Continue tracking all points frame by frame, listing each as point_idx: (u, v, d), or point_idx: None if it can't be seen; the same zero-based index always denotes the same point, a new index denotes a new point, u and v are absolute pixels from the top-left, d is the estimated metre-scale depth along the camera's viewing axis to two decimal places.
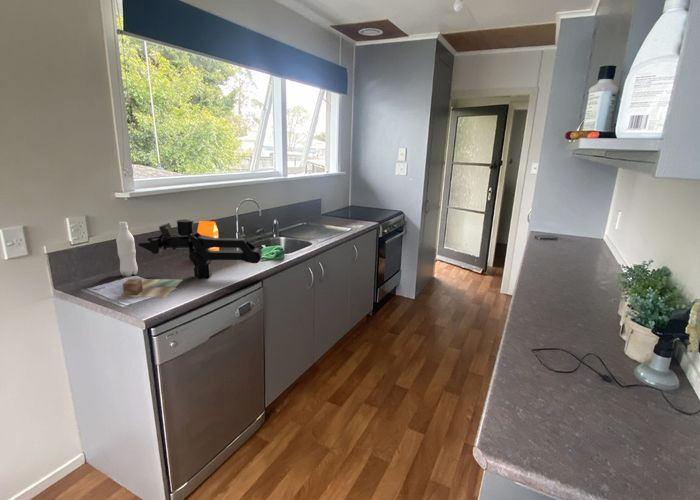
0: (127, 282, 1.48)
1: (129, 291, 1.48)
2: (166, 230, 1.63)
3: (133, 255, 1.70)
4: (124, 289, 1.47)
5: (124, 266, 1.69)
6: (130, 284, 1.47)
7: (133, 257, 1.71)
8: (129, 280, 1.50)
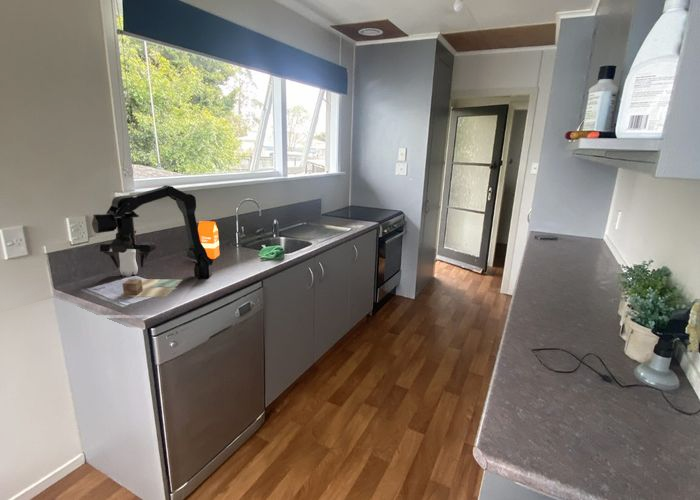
0: (127, 282, 1.48)
1: (129, 291, 1.48)
2: (130, 241, 1.39)
3: (133, 255, 1.70)
4: (124, 289, 1.47)
5: (124, 266, 1.69)
6: (130, 284, 1.47)
7: (133, 257, 1.71)
8: (129, 280, 1.50)
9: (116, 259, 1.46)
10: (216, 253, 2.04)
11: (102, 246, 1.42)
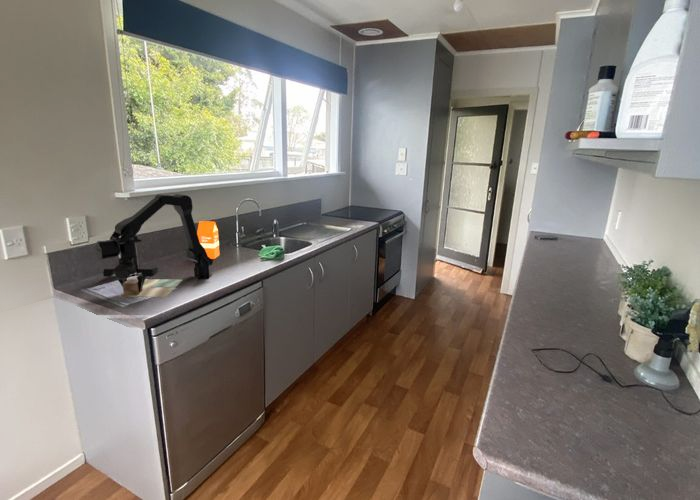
0: (127, 282, 1.48)
1: (129, 291, 1.48)
2: (133, 267, 1.41)
3: None
4: (124, 289, 1.47)
5: None
6: (130, 284, 1.47)
7: None
8: (129, 280, 1.50)
9: None
10: (216, 253, 2.04)
11: (105, 271, 1.44)
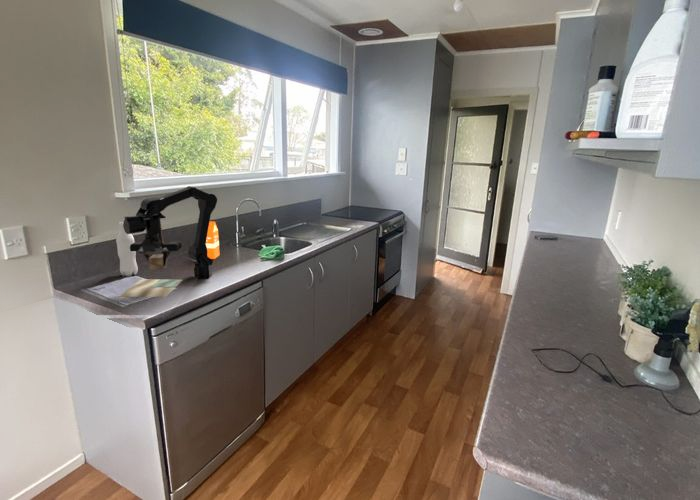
0: (153, 257, 1.55)
1: (155, 265, 1.54)
2: (159, 241, 1.48)
3: (133, 255, 1.70)
4: (150, 263, 1.54)
5: (124, 266, 1.69)
6: (156, 258, 1.54)
7: (133, 257, 1.71)
8: (154, 255, 1.57)
9: None
10: (216, 253, 2.04)
11: (132, 246, 1.51)
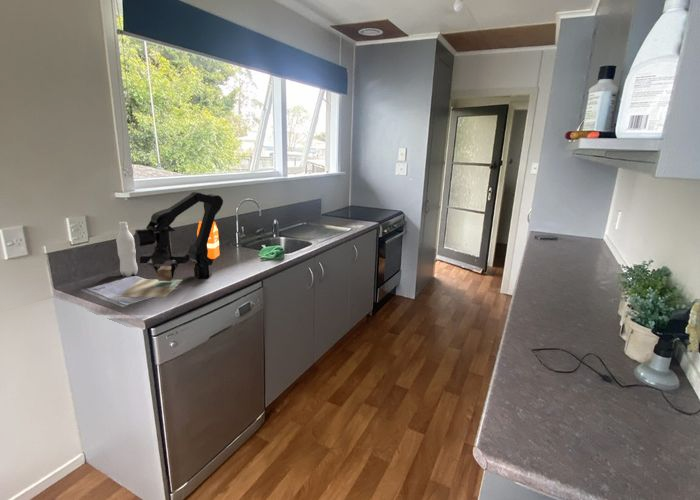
0: (161, 268, 1.59)
1: (163, 277, 1.58)
2: (168, 254, 1.52)
3: (133, 255, 1.70)
4: (158, 275, 1.58)
5: (124, 266, 1.69)
6: (164, 270, 1.58)
7: (133, 257, 1.71)
8: (163, 267, 1.61)
9: None
10: (216, 253, 2.04)
11: (142, 258, 1.55)
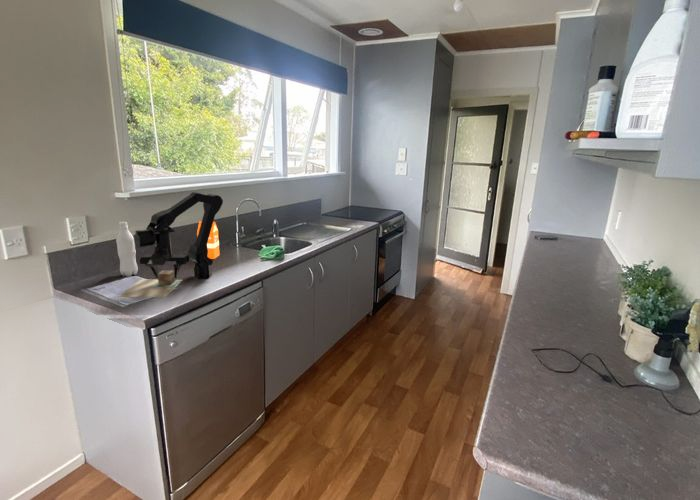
0: (161, 273, 1.59)
1: (164, 281, 1.59)
2: (168, 255, 1.52)
3: (133, 255, 1.70)
4: (159, 279, 1.59)
5: (124, 266, 1.69)
6: (164, 274, 1.58)
7: (133, 257, 1.71)
8: (163, 271, 1.61)
9: (156, 270, 1.60)
10: (216, 253, 2.04)
11: (142, 259, 1.55)
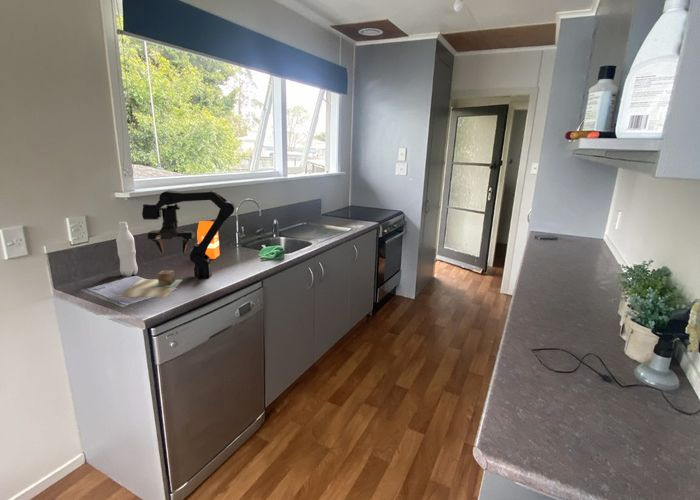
0: (161, 273, 1.59)
1: (164, 281, 1.59)
2: (176, 229, 1.60)
3: (133, 255, 1.70)
4: (159, 279, 1.59)
5: (124, 266, 1.69)
6: (164, 274, 1.58)
7: (133, 257, 1.71)
8: (163, 271, 1.61)
9: (161, 246, 1.67)
10: (216, 253, 2.04)
11: (150, 234, 1.62)
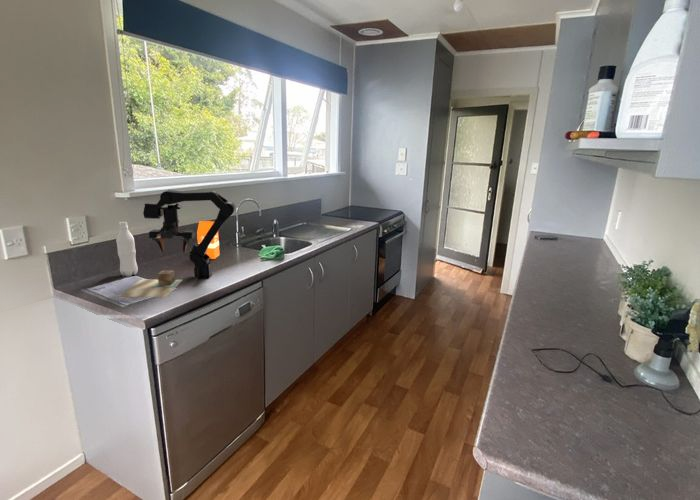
0: (161, 273, 1.59)
1: (164, 281, 1.59)
2: (176, 229, 1.60)
3: (133, 255, 1.70)
4: (159, 279, 1.59)
5: (124, 266, 1.69)
6: (164, 274, 1.58)
7: (133, 257, 1.71)
8: (163, 271, 1.61)
9: (162, 245, 1.68)
10: (216, 253, 2.04)
11: (151, 233, 1.64)
